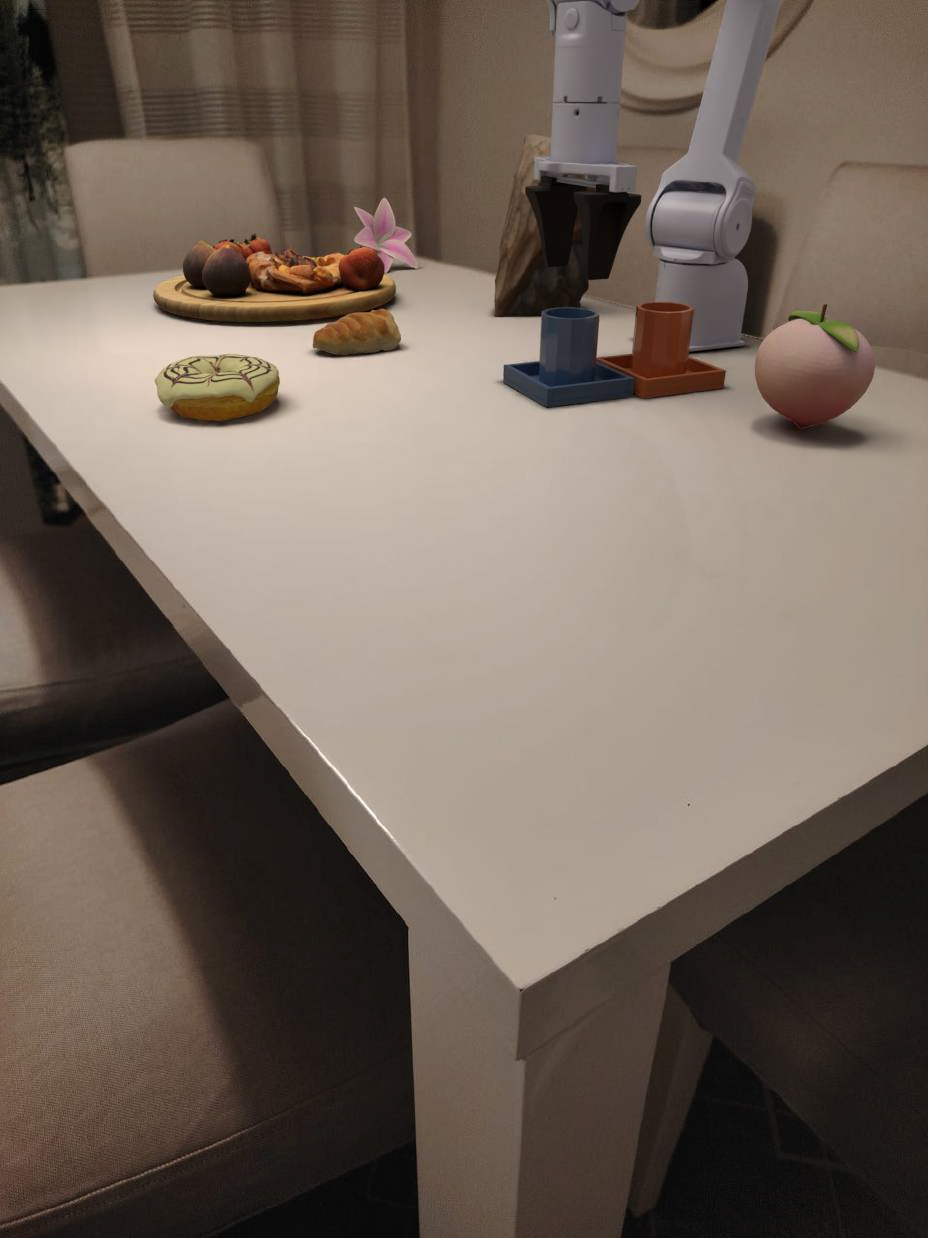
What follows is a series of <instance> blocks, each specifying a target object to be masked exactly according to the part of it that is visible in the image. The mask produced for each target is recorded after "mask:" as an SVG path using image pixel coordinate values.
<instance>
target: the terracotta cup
mask: <svg viewBox="0 0 928 1238" xmlns="http://www.w3.org/2000/svg"><path fill="white" fill-rule="evenodd" d="M693 315H694V308H693V307H692V306H690V305H687V304H683V303H676V302H663V301H658V302H655V301H646V302H645V301H644V302H641V303H639V304H638V303H637V305H636V307H635V315H634V317H635V318H634V327H633V337H632V338H633V340H632V349H631V350H632V351H631V354H632V359H631V372H633V373H635V374H638V375H640V376H642V377H644V378H647V379H648V378H656V377H664V376H672V375H680V374H686V371H687V363H688V356H690V355H689V353H690V352H689V347H690V339H691V331H692V323H693Z"/></svg>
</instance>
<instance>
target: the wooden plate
mask: <svg viewBox="0 0 928 1238" xmlns="http://www.w3.org/2000/svg"><path fill="white" fill-rule="evenodd" d="M384 266H385V265H384V263H383V261H382V259H381V258H380V257H379V256H378V253H377V250H374V249H373V248H370V247H367V246H363V245H360V247H358V248H351V249H350V250H349V251H347V253H346V254H342V253H340V252H334V253H331V254H327V255H325V256H318V257H310V256H306V255H305V256H304V255H300V254H299V253H297V252H296V251H295V250H293V249H292V248H288V249H281V250H280V253H279V252H275V253H274V254H273V251H272V247H271V245H270V243H269V241H267V240H266V239H264V238H262V237H261V235H259V236H258V235H257V233H252V234H251V236H250V238H245V239H244V241H243V242H242V241H235V239H234V238H233V239H232V238H231V239H229V240H228V239H221V240H220V241H219V242H218V243H217V244H216V245H214V246H211V245H209V244H208V243H206V242H204V241H203V240H199V241H198V242H197V244H194V245H193V247H191V249H189V251H188V252H187V254H186V256H185V258H184V260H183V262H182V272H183V274H182V275H177V276H175V277H171V278H168V279H166V280H164V281H162V282H160V283H158V284H157V285H156V286H155V287H154V289H153V294H152V296H153V297H152V298H153V300H154V302H155V304H156V305H157V306H158V308H160V309H161V310H162V311H163V310H164V311H165V312H167V313H171V314H173V315H176V316H180V317H181V316H182V317H187V318H192V319H199V320H208V321H218V322H237V323H238V322H239V323H269V322H293V321H305V320H315V319H324V318H325V319H326V318H333V317H340V316H346V315H349V314H351V313H358V312H359V313H362V312H365V311H369V310H373V309H375V308H379V307H381V306H384V305H385V304H387V303H388V302H390V301H391V300H392V299H393V298H394V297H395V295H396V293H397V285H396V283H395V280H394V279H393V278H392V277H391V276H390V275H388V274H386V273H385V272H384V271H385V268H384Z"/></svg>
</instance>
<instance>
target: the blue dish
mask: <svg viewBox="0 0 928 1238" xmlns="http://www.w3.org/2000/svg"><path fill="white" fill-rule="evenodd" d="M502 374H503V376H502V377H503V378H502V382H503V383H504V384H505V385H507V386H509V387H511V388H512V389H514V390H516V391H518V392H519V393H520V394H523V395H524V396H526V397H528V398H529V399H530V400H533V401H535V402H536V403H538V404H540V405H542V406H543V407H545V408H553V407H561V406H569V405H578V404H585V403H591V402H592V403H593V402H601V401H607V400H609V401H610V400H616V399H624V398H632V397H633V396H634V394H633V388H634V378H633V377H630V376H628V375H626V374H624V373H622V372H619V371H617V370H615V369H613V368H610V367H608V366H606V365H604V364H602V363H599V362H597V361H596V371H595V380H594V382H586V383H578V384H570V385H562V386H553V387H549V386H547V385H545V384H543V383H541V382H540V381H539V360H536V361H529V362H528V361H527V362H526V361H525V362H517V363H516V362H515V363H509V364H503V372H502Z"/></svg>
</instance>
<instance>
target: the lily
mask: <svg viewBox="0 0 928 1238" xmlns="http://www.w3.org/2000/svg"><path fill="white" fill-rule="evenodd" d="M353 209H354V211H355V213H356V214H357V216H358V217H359V220H360V221H361V223H362V224H363V225H364V227H363V228H362V229H361V230H360V231H359V232H358V233H357V234H356V235H355V237H354V238H353V242H354V243H356V244H358V245H360V246H361V245H362V247H367V248H371V249H374V251H376V253H377V255H378V256H379V257H380V258H381V259H382V261H383V263H384V265H385V266H384V268H385V271H384V274H387V273H388V271H389V270H390V268H391V266H392V264H393V261H394V258H395V259H397V260H399V261H401V262H403V263H405V264H406V265H408V266H410V267H412V268H414V269H419V264H418V262H417V260H416V258H415V256H414V254H413V253H412V250H411V249H410V248H409V247H408V245H407V244H406V242H407V241H408V240H409V239H410V238H411V237H412V235H413V234H412V232H411V231H410V230H409V229H406V228H404V227H400V226H397V225H396V218H395V215H394V212H393V209H392V207H391V204H390V202H389V201H388V199H387V198H386V197H383V198H382V199H381V200H380V202H379V203H378V206H377V208H376V211H375V213H374V215H372V214H371V213H370V212H367V211H366V210H364V209H362V208H360V207H357V206H354V207H353Z"/></svg>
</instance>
